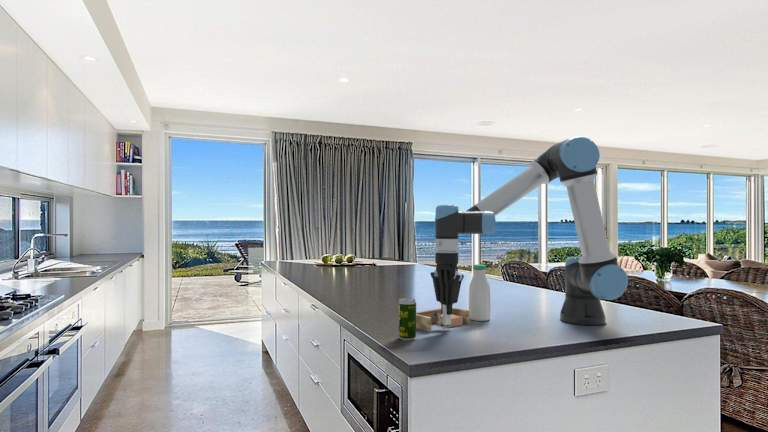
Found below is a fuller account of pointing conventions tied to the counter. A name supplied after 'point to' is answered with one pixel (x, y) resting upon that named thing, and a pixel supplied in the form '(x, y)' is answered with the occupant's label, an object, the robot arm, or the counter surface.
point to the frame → (426, 319)
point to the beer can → (407, 319)
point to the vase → (440, 319)
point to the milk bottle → (479, 295)
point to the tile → (456, 320)
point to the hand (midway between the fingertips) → (446, 324)
